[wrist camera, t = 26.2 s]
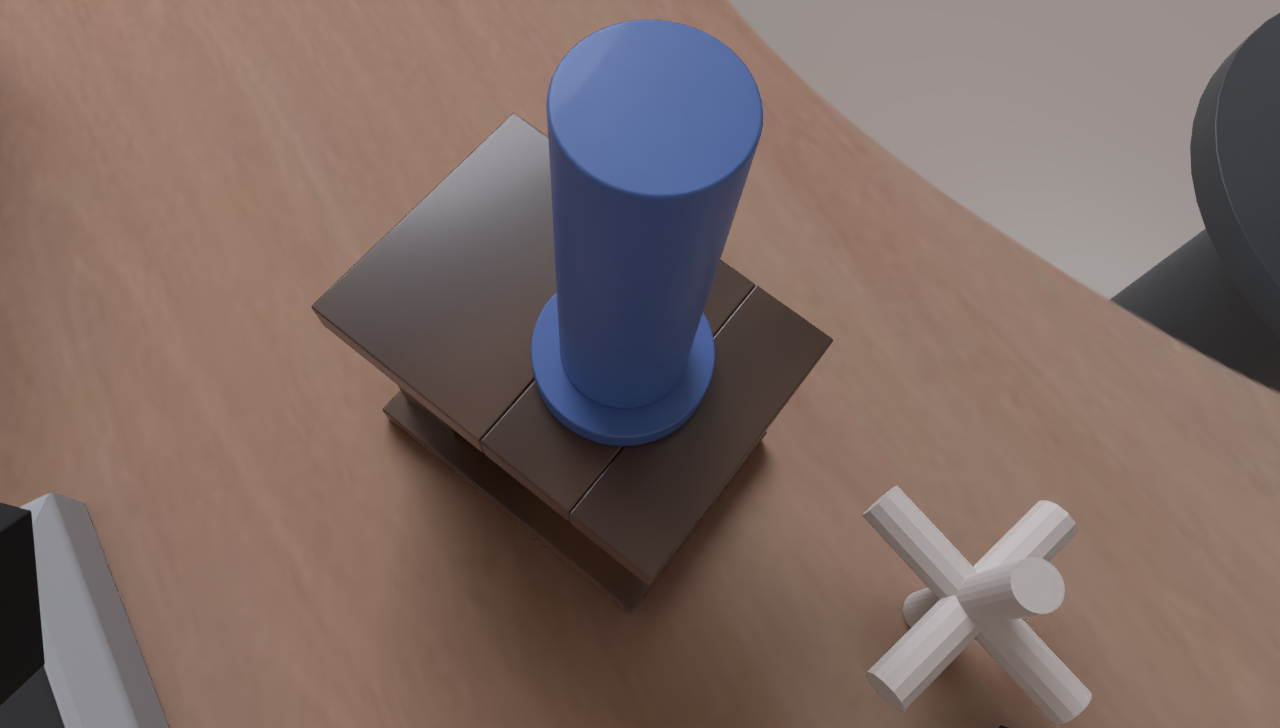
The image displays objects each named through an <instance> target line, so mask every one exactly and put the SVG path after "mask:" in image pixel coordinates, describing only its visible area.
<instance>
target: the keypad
mask: <svg viewBox="0 0 1280 728" xmlns="http://www.w3.org/2000/svg"><path fill="white" fill-rule="evenodd" d="M19 508H22V509H26V510H30V511H31V513H32V525H33V536H34V547H35V558H36V570H37V581H38V592H39V604H40V615H41V626H42V637H43V649H44V660H45V664H44V665H43V666H42V667H41V668H40V669H39V670H38V671H37V672H36V673H35V674H34V675H33V676H32V677H31V678H29V679H28V680H27V681H26V682H25V683H24V684H23V685H22V686H21V687H20V688H19V689H18V690H17V691H16V692H14V693H13V694H12V695H11V696H10V697H9V698H8V699H7V700H6V701H5V702H4V703H3V704H2V705H1V706H0V728H169V726H168V723H167V721H166V718H165V716H164V713H163V710H162V708H161V705H160V702H159V700H158V697H157V694H156V692H155V689H154V686H153V684H152V681H151V678H150V676H149V673H148V670H147V668H146V665H145V663H144V660H143V657H142V655H141V652H140V649H139V647H138V644H137V641H136V639H135V636H134V633H133V631H132V628H131V625H130V623H129V620H128V617H127V615H126V612H125V610H124V607H123V604H122V602H121V599H120V596H119V594H118V591H117V588H116V586H115V583H114V580H113V578H112V575H111V572H110V570H109V567H108V564H107V562H106V559H105V557H104V554H103V551H102V549H101V546H100V543H99V541H98V538H97V535H96V533H95V530H94V527H93V525H92V522H91V519H90V517H89V514H88V511H87V509H86V506H85V504H84V503H81V502H79V501H76V500H73V499H71V498H68V497H66V496H63V495H60V494H58V493H55V492H50V493H48V494H46V495H44V496H42V497H40V498H38V499H35V500H33V501H31V502H29V503H27V504H25V505H23V506H21V507H19Z"/></svg>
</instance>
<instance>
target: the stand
mask: <svg viewBox="0 0 1280 728" xmlns="http://www.w3.org/2000/svg"><path fill="white" fill-rule="evenodd" d="M556 292H557V289H556V271H555V252H554V234H553V215H552V196H551V178H550V159H549V140H548V137H547V136H546V135H544V134H543V133H541V132H540V131H539V130H537V129H536V128H534V127H533V126H532V125H530V124H529V123H527V122H526V121H524V120H523V119H522V118H520V117H519V116H517V115H516V114H515V113H513V114H512V115H511V116H510V117H509V118H508V119H507V120H505V121H504V122H503V123H502V124H501V125H500V126H499V127H498V128H497V129H496V130H495V131H494V132H493V133H492V134H491V135H490V136H489V137H488V138H487V139H486V140H485V141H484V142H482V143H481V144H480V145H479V146H478V147H477V148H476V149H475V150H474V151H473V152H472V153H471V154H470V155H469V156H468V157H467V158H466V159H465V160H464V161H463V162H462V163H461V164H459V165H458V166H457V167H456V168H455V169H454V170H453V171H452V172H451V173H450V174H449V175H448V176H447V177H446V178H445V179H444V180H443V181H442V182H441V183H440V184H439V185H438V186H436V187H435V188H434V189H433V190H432V191H431V192H430V193H429V194H428V195H427V196H426V197H425V198H424V199H423V200H422V201H421V202H420V203H419V204H418V205H417V206H416V207H415V208H413V209H412V210H411V211H410V212H409V213H408V214H407V215H406V216H405V217H404V218H403V219H402V220H401V221H400V222H399V223H398V224H397V225H396V226H395V227H394V228H393V229H392V230H390V231H389V232H388V233H387V234H386V235H385V236H384V237H383V238H382V239H381V240H380V241H379V242H378V243H377V244H376V245H375V246H374V247H373V248H372V249H371V250H370V251H369V252H367V253H366V254H365V255H364V256H363V257H362V258H361V259H360V260H359V261H358V262H357V263H356V264H355V265H354V266H353V267H352V268H351V269H350V270H349V271H348V272H347V273H346V274H344V275H343V276H342V277H341V278H340V279H339V280H338V281H337V282H336V283H335V284H334V285H333V286H332V287H331V288H330V289H329V290H328V291H327V292H326V293H325V294H324V295H323V296H321V297H320V298H319V299H318V300H317V301H316V302H315V303H314V304H313V305H312V309H313V311H314V312H315V313H316V315H317V316H318V318H319V319H320V321H321V322H322V324H323V325H324V326H325V327H326V328H328V329H329V330H330V331H331V332H333V333H334V334H335V335H336V336H338V337H339V338H340V339H341V340H343V341H344V342H345V343H346V344H348V345H349V346H350V347H351V348H353V349H354V350H355V351H356V352H358V353H359V354H360V355H361V356H363V357H364V358H365V359H366V360H368V361H369V362H370V363H371V364H373V365H374V366H375V367H376V368H377V369H379V370H380V371H381V372H382V373H384V374H385V375H386V376H387V377H389V378H390V379H391V380H392V381H394V382H395V383H396V384H397V385H398V386H399V388H400V391H399V392H398V393H397V394H396V395H395V397H394V398H393V399H392V400H391V401H390V402H389V403H388V404H387V405H386V406H385V407H384V408H383V412H384V413H385V415H386V416H387V417H388V419H390V420H391V421H392V422H393V423H395V424H396V425H397V426H398V427H400V428H401V429H402V430H403V431H404V432H406V433H407V434H408V435H409V436H411V437H412V438H413V439H414V440H416V441H417V442H418V443H419V444H420V445H422V446H423V447H424V448H425V449H427V450H428V451H429V452H430V453H431V454H433V455H434V456H435V457H436V458H438V459H439V460H440V461H441V462H443V463H444V464H445V465H446V466H447V467H449V468H450V469H451V470H452V471H454V472H455V473H456V474H457V475H459V476H460V477H461V478H462V479H463V480H465V481H466V482H467V483H468V484H470V485H471V486H472V487H473V488H474V489H476V490H477V491H478V492H479V493H481V494H482V495H483V496H484V497H486V498H487V499H488V500H489V501H490V502H492V503H493V504H494V505H495V506H497V507H498V508H499V509H500V510H502V511H503V512H504V513H505V514H506V515H508V516H509V517H510V518H511V519H513V520H514V521H515V522H516V523H518V524H519V525H520V526H521V527H522V528H524V529H525V530H526V531H527V532H529V533H530V534H531V535H532V536H533V537H535V538H536V539H537V540H538V541H540V542H541V543H542V544H543V545H545V546H546V547H547V548H548V549H549V550H551V551H552V552H553V553H554V554H556V555H557V556H558V557H559V558H561V559H562V560H563V561H564V562H565V563H567V564H568V565H569V566H570V567H572V568H573V569H574V570H575V571H576V572H578V573H579V574H580V575H581V576H583V577H584V578H585V579H586V580H588V581H589V582H590V583H591V584H592V585H594V586H595V587H596V588H597V589H599V590H600V591H601V592H602V593H604V594H605V595H606V596H607V597H608V598H610V599H611V600H612V601H613V602H615V603H616V604H617V605H618V606H620V607H621V608H622V609H623V610H624V611H626V612H627V613H628V614H631V613H632V612H633V610H634V609H635V608H636V606H637V605H638V604H639V602H640V601H641V600H642V598H643V597H644V596H645V594H646V593H647V592H648V590H649V589H650V588H651V586H652V585H653V584H654V582H655V581H656V580H657V578H658V577H659V576H660V574H661V573H662V572H663V570H664V569H665V568H666V566H667V565H668V564H669V562H670V561H671V560H672V558H673V557H674V556H675V554H676V553H677V552H678V550H679V549H680V548H681V546H682V545H683V544H684V542H685V541H686V540H687V538H688V537H689V536H690V534H691V533H692V532H693V530H694V529H695V528H696V526H697V525H698V524H699V522H700V521H701V520H702V518H703V517H704V516H705V514H706V513H707V512H708V510H709V509H710V508H711V507H712V505H713V504H714V503H715V501H716V500H717V499H718V497H719V496H720V495H721V493H722V492H723V491H724V489H725V488H726V487H727V485H728V484H729V483H730V481H731V480H732V479H733V477H734V476H735V475H736V473H737V472H738V471H739V469H740V468H741V467H742V465H743V464H744V463H745V461H746V460H747V459H748V457H749V456H750V455H751V453H752V452H753V451H754V449H755V448H756V447H757V445H758V444H759V443H760V441H761V440H762V439H763V437H764V436H765V435H766V430H767V429H768V427H769V426H770V425H771V423H772V422H773V421H774V419H775V418H776V417H777V415H778V414H779V413H780V411H781V410H782V409H783V407H784V406H785V405H786V403H787V402H788V401H789V399H790V398H791V397H792V395H793V394H794V393H795V391H796V390H797V389H798V387H799V386H800V385H801V383H802V382H803V381H804V380H805V378H806V377H807V376H808V374H809V373H810V372H811V370H812V369H813V368H814V366H815V365H816V364H817V362H818V361H819V360H820V358H821V357H822V356H823V354H824V353H825V351H826V350H827V349H828V347H829V346H830V345H831V343H832V342H833V339H832V338H831V337H829V336H828V335H826V334H825V333H824V332H822V331H821V330H819V329H818V328H816V327H815V326H814V325H812V324H811V323H809V322H808V321H807V320H805V319H804V318H802V317H801V316H800V315H798V314H797V313H795V312H794V311H792V310H791V309H790V308H788V307H787V306H785V305H784V304H783V303H781V302H780V301H778V300H777V299H776V298H774V297H773V296H771V295H770V294H768V293H767V292H766V291H764V290H763V289H761V288H760V287H759V286H755V284H754V283H753V282H751V281H750V280H749V279H747V278H746V277H744V276H743V275H742V274H740V273H739V272H737V271H736V270H735V269H733V268H732V267H730V266H729V265H727V264H726V263H725V262H723V261H722V260H720V261H719V264H718V267H717V271H716V274H715V277H714V280H713V283H712V286H711V289H710V292H709V295H708V298H707V301H706V304H705V307H704V310H703V312H704V314H705V316H706V318H707V320H708V322H709V325H710V327H711V330H712V334H713V338H714V344H715V365H714V371H713V375H712V378H711V381H710V384H709V387H708V389H707V392H706V394H705V396H704V398H703V400H702V402H701V404H700V405H699V407H698V408H697V410H696V411H695V413H694V414H693V415H692V416H691V417H690V418H689V419H688V420H687V421H686V422H685V423H684V424H683V425H682V426H680V427H679V428H678V429H677V430H675V431H673V432H672V433H670V434H669V435H667V436H665V437H662V438H660V439H658V440H655V441H652V442H649V443H646V444H640V445H634V446H614V445H607V444H602V443H597V442H594V441H592V440H589V439H586V438H584V437H582V436H580V435H578V434H576V433H574V432H573V431H571V430H570V429H568V428H567V427H565V426H564V425H563V424H562V423H561V422H560V421H559V420H557V419H556V418H555V416H554V415H553V414H552V413H551V412H550V411H549V409H548V408H547V406H546V405H545V403H544V402H543V400H542V398H541V396H540V394H539V392H538V390H537V386H536V383H535V380H534V375H533V368H532V361H531V342H532V335H533V331H534V327H535V324H536V322H537V320H538V317H539V315H540V313H541V311H542V310H543V308H544V306H545V305H546V304H547V302H548V301H549V300H550V299H551V297H552V296H553V295H554V294H555V293H556Z"/></svg>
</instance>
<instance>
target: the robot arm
mask: <svg viewBox="0 0 1280 728" xmlns="http://www.w3.org/2000/svg"><path fill="white" fill-rule="evenodd" d="M44 664H45V660H44V649H43V637H42V626H41V615H40V604H39V592H38V581H37V570H36V558H35V547H34V536H33V525H32V513H31V511H30V510H26V509H22V508H19V507H15V506H11V505H7V504H3V503H0V706H1V705H2V704H3V703H4V702H5V701H6V700H7V699H8V698H9V697H10V696H11V695H12V694H13V693H14V692H16V691H17V690H18V689H19V688H20V687H21V686H22V685H23V684H24V683H25V682H26V681H27V680H28V679H29V678H31V677H32V676H33V675H34V674H35V673H36V672H37V671H38V670H39V669H40V668H41V667H42V666H43V665H44Z"/></svg>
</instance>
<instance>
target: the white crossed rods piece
mask: <svg viewBox="0 0 1280 728" xmlns="http://www.w3.org/2000/svg"><path fill="white" fill-rule="evenodd" d="M862 516H863V517H864V518H865V519H866V520H867V521H868V522H869V523H870V524H871V525H872V527H873V528H874V529H875V530H876V531H877V532H878V533H879V534H880V535H881V536H882V537H883V539H884V540H885V541H886V542H887V543H888V544H889V545H890V546H891V547H892V548H893V549H894V551H895V552H896V553H897V554H898V555H899V556H900V557H901V558H902V559H903V560H904V562H905V563H906V564H907V565H908V566H909V567H910V568H911V569H912V570H913V571H914V572H915V574H916V575H917V576H918V577H919V578H920V579H921V580H922V581H923V582H924V583H925V585H926V586H927V587H928V588H925V589H922V590H919V591H916V592H913V593H911V594H910V595H908V597H907V598H906V599H905V601H904V604H903V616H904V618H905V621H906V622H907V624H908V625H909V626H910V627H911V629H910V630H909V631H908V632H907V633H906V634H905V635H904V636H903V637H902V638H901V639H900V640H899V641H898V642H897V643H896V644H895V645H894V646H893V647H892V648H891V649H890V650H889V651H888V652H887V653H886V654H885V655H883V656H882V657H881V658H880V659H879V660H878V661H877V662H876V663H875V664H874V665H873V666H872V667H871V668H870V669H869V670H868V671H867V673H866V676H867V678H868V680H869V682H870V684H871V685H872V686H873V688H874V689H875V690H876V691H877V693H878V694H879V695H880V696H881V697H882V698H883V699H884V700H885V701H886V702H887V703H889V704H890V705H891V706H892V707H894V708H895V709H896V710H898V711H901V712H904V711H905V710H906V709H907V708H908V706H909V705H910V704H911V703H912V702H913V701H914V700H915V699H916V698H917V697H918V696H919V695H920V694H921V693H922V692H923V691H924V690H925V689H926V688H927V687H928V686H929V685H930V684H931V683H932V682H933V681H934V680H935V679H936V678H937V677H938V676H939V675H940V674H941V672H942V671H943V670H944V669H945V668H946V667H947V666H948V665H949V664H950V663H951V662H952V661H953V660H954V659H955V658H956V657H957V656H958V655H959V654H960V653H961V652H962V651H963V650H964V649H965V648H966V647H967V646H968V645H969V644H970V643H971V642H972V641H973V640H974V639H976V640H977V641H978V642H979V644H980V645H981V646H982V647H983V648H984V649H985V650H986V651H987V652H988V653H989V655H990V656H991V657H992V658H993V659H994V660H995V661H996V662H997V663H998V664H999V665H1000V667H1001V668H1002V669H1003V670H1004V671H1005V672H1006V673H1007V674H1008V675H1009V676H1010V677H1011V679H1012V680H1013V681H1014V682H1015V683H1016V684H1017V685H1018V686H1019V687H1020V688H1021V690H1022V691H1023V692H1024V693H1025V694H1026V695H1027V696H1028V697H1029V698H1030V699H1031V700H1032V702H1033V703H1034V704H1035V705H1036V706H1037V707H1038V708H1039V709H1040V710H1041V711H1042V713H1043V714H1044V715H1045V716H1046V717H1047V718H1048V719H1049V720H1050V721H1051V722H1052V723H1053V724H1055V725H1056V726H1057V725H1061V724H1065V723H1067V722H1069V721H1070V720H1072V719H1074V718H1076V717H1077V716H1078V715H1079V714H1080V713H1081V712H1082V711H1083V710H1084V709H1085V708H1086V707H1087V705H1088V704H1089V702H1090V701H1091V697H1092V693H1091V692H1090V691H1089V690H1088V689H1087V688H1086V687H1085V686H1084V685H1083V684H1082V683H1081V681H1080V680H1079V679H1078V678H1077V677H1076V676H1075V675H1074V674H1073V673H1072V672H1071V671H1070V670H1069V669H1068V668H1067V666H1066V665H1065V664H1064V663H1063V662H1062V661H1061V660H1060V659H1059V658H1058V657H1057V656H1056V655H1055V654H1054V653H1053V652H1052V650H1051V649H1050V648H1049V647H1048V646H1047V645H1046V644H1045V643H1044V642H1043V641H1042V640H1041V639H1040V638H1039V637H1038V635H1037V634H1036V633H1035V632H1034V631H1033V630H1032V629H1031V628H1030V627H1029V626H1028V625H1027V624H1026V623H1025V622H1024V621H1023V619H1022V618H1024V617H1030V616H1036V615H1041V614H1047V613H1050V612H1053V611H1054V610H1056V609H1057V608H1058V607H1059V606H1060V604H1061V603H1062V601H1063V598H1064V595H1065V587H1064V582H1063V579H1062V577H1061V575H1060V573H1059V572H1058V570H1057V569H1056V568H1055V567H1054V566H1053V565H1052V564H1051V563H1049V561H1050V560H1051V559H1052V558H1053V557H1054V556H1055V555H1056V554H1057V553H1058V552H1059V551H1060V550H1061V549H1062V548H1063V547H1064V546H1065V545H1066V544H1067V543H1068V542H1069V541H1070V540H1071V539H1072V538H1073V537H1074V535H1075V534H1076V533H1077V532H1078V529H1077V525H1076V523H1075V521H1074V520H1073V519H1072V517H1071V516H1070V515H1069V513H1067V512H1066V511H1065V510H1064V509H1062V508H1061V507H1060V506H1059V505H1056V504H1054V503H1052V502H1050V501H1039V502H1038V503H1037V504H1035V505H1034V506H1033V507H1032V508H1031V509H1030V510H1029V511H1028V512H1027V513H1026V514H1025V515H1024V516H1023V517H1022V518H1021V519H1020V520H1019V521H1018V522H1017V523H1016V524H1015V525H1014V526H1013V527H1012V528H1011V529H1010V530H1009V531H1008V532H1007V533H1006V534H1005V535H1004V536H1003V537H1002V538H1001V539H1000V540H999V541H998V542H997V543H996V544H995V545H994V546H993V547H992V548H991V549H990V550H989V551H988V552H987V553H986V554H985V555H984V556H983V557H982V558H981V559H980V560H979V561H978V562H977V563H976V564H975V565H974V566H972V565H971V564H970V563H969V562H968V561H967V560H966V559H965V558H964V556H963V555H962V554H961V553H960V552H959V551H958V550H957V549H956V548H955V547H954V546H953V545H952V544H951V543H950V541H949V540H948V539H947V538H946V537H945V536H944V535H943V534H942V533H941V532H940V531H939V530H938V529H937V528H936V527H935V525H934V524H933V523H932V522H931V521H930V520H929V519H928V518H927V517H926V516H925V515H924V514H923V513H922V512H921V511H920V509H919V508H918V507H917V506H916V505H915V504H914V503H913V502H912V501H911V500H910V499H909V498H908V497H907V496H906V494H905V493H904V492H903V491H902V490H901V489H900V488H899V487H898V486H897V485H896V486H894V487H893V488H892V489H890V490H889V491H888V492H886V493H885V494H884V495H883V496H882V497H880V498H879V499H878V500H877V501H876V502H875V503H874V504H873V505H871V506H870V507H869V508H868V509H867V510H866V511H865V512H864V513H863V515H862Z"/></svg>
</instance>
